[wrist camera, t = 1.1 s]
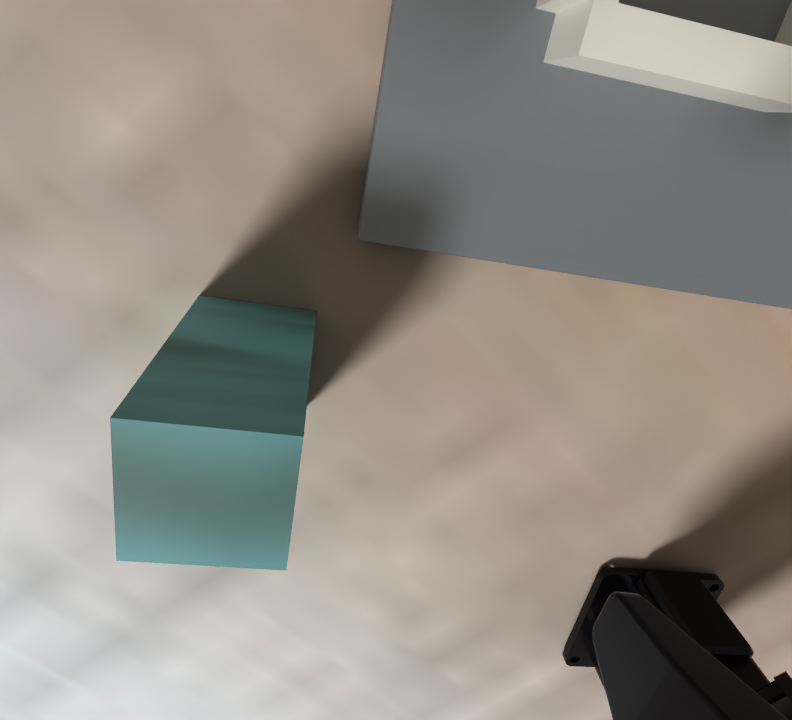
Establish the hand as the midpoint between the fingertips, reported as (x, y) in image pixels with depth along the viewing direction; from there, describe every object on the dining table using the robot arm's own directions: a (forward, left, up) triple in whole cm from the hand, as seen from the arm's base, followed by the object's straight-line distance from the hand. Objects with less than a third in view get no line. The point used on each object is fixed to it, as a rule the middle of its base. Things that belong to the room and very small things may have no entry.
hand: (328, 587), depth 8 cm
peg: (-2, +3, -12) cm, 13 cm away
